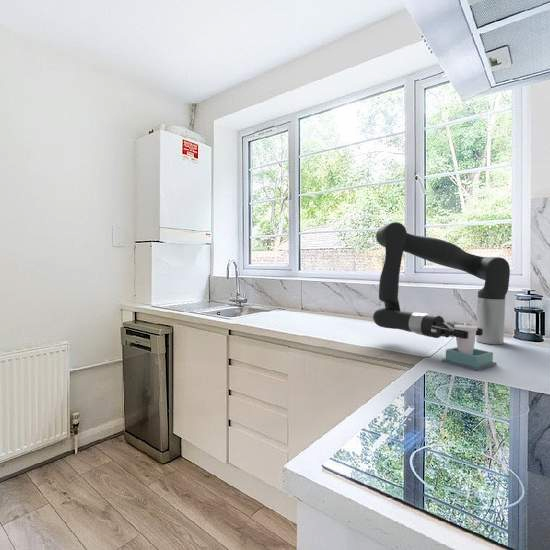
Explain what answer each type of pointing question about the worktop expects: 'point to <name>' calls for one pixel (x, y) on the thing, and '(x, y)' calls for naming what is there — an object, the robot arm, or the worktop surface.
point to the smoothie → (468, 343)
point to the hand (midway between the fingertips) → (475, 333)
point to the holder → (470, 359)
